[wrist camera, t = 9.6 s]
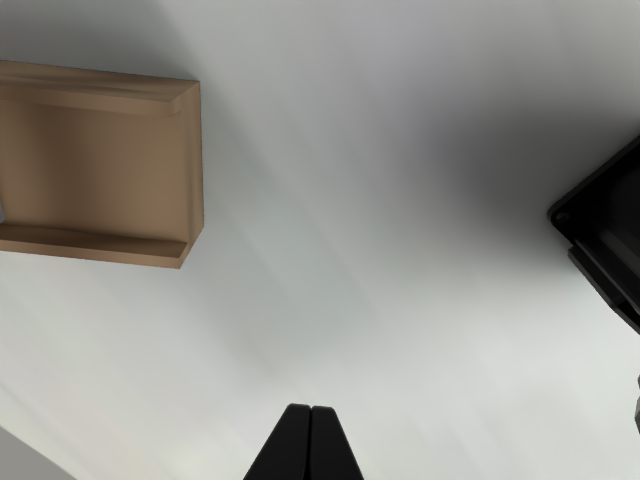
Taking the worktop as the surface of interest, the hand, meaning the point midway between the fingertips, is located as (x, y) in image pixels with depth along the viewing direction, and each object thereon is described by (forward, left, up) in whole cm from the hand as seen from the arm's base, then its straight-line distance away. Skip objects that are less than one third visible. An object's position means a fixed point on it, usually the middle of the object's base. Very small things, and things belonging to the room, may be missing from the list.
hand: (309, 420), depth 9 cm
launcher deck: (+5, -8, -13) cm, 16 cm away
